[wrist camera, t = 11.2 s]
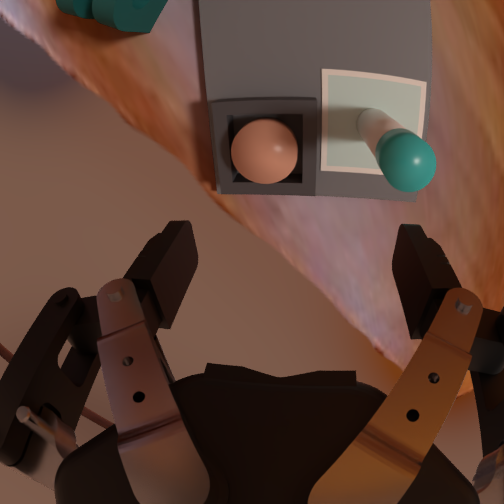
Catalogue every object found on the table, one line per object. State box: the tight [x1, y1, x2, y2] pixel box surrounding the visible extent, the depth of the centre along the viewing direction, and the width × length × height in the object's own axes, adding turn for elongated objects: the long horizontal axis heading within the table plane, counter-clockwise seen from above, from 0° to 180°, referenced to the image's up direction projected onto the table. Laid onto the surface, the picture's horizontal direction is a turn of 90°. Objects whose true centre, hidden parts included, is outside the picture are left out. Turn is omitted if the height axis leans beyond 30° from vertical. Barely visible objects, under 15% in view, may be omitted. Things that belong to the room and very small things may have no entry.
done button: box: [231, 117, 298, 184], centre depth 23 cm, size 5×5×2 cm
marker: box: [357, 108, 436, 192], centre depth 18 cm, size 3×3×10 cm
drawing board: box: [199, 0, 432, 202], centre depth 20 cm, size 20×19×3 cm
